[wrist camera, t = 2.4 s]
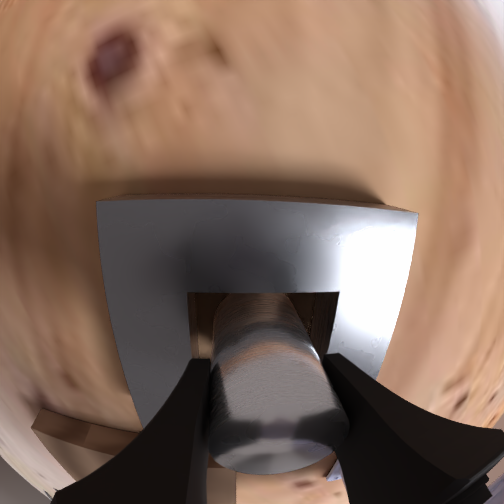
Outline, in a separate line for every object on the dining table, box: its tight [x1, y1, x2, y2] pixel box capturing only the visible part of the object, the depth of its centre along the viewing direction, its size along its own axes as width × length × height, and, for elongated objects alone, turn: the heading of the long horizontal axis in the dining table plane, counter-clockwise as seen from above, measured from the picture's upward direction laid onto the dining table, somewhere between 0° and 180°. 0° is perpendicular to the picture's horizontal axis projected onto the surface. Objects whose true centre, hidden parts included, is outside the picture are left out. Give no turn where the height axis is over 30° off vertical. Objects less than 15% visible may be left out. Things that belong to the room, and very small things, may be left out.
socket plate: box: [31, 408, 236, 504], centre depth 16 cm, size 16×16×2 cm
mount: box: [96, 194, 418, 429], centre depth 11 cm, size 12×12×2 cm
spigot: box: [208, 293, 350, 475], centre depth 9 cm, size 4×4×7 cm
